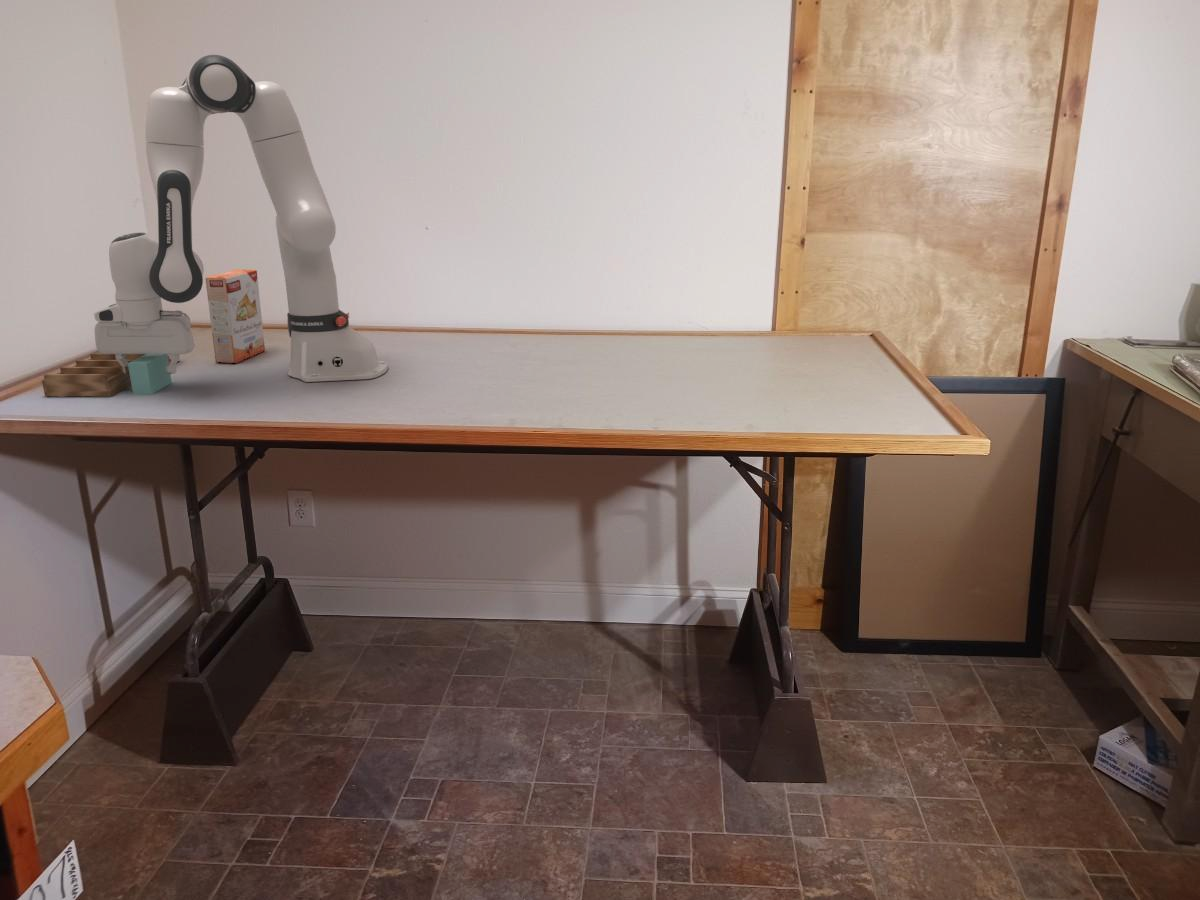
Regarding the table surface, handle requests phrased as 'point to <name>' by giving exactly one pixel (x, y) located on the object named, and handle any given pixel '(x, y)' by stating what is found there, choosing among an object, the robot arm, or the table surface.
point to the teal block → (149, 374)
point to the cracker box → (235, 315)
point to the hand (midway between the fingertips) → (150, 373)
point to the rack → (90, 377)
